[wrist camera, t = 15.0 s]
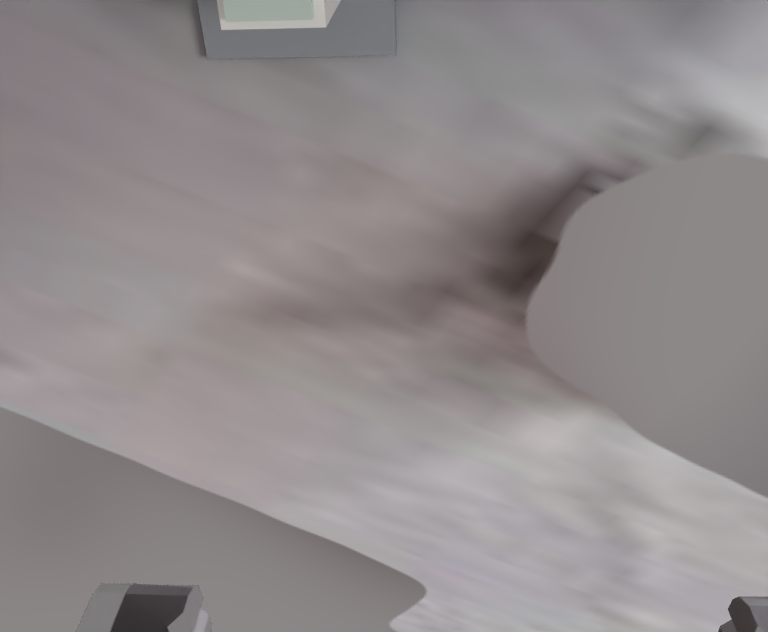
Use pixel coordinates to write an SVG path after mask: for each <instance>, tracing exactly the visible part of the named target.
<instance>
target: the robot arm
mask: <svg viewBox="0 0 768 632" xmlns="http://www.w3.org/2000/svg"><path fill="white" fill-rule="evenodd" d="M202 602H203V595H202V592H201V590H200V587H199V585H158V584H136V583H101V584H100V585H99V587H98V588H97V589H96V590H95V592H94V593H93V594H92V596H91V598H90V601H89V603H88V605H87V608H86V610H85V612H84V614H83V616H82V619H81V621H80V623H79V625H78V628H77V630H76V632H212V623H211V620H210V616H209V614H208V613H207V612H205V611H203V610H202V609H201V605H202ZM728 611H729V614H730V616H731V619H732V620H730V621H728V622H727V623H725V624H723V625H721V626H720V628H719V631H718V632H768V597H737V598H735V599H733V600H732V602H731V604H730V606H729V608H728Z"/></svg>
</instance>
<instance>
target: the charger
mask: <svg viewBox="0 0 768 632" xmlns="http://www.w3.org/2000/svg"><path fill="white" fill-rule="evenodd" d="M340 1H341V0H217V6H218V12H219V18H220V25H221V30H242V29H284V28H326V27H327V25H328V23H329V21H330V19H331V18H332V16H333V14H334V12H335V10H336V8H337V7H338V5H339V3H340Z"/></svg>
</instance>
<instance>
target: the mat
mask: <svg viewBox="0 0 768 632" xmlns="http://www.w3.org/2000/svg"><path fill="white" fill-rule="evenodd" d="M197 3H198V9H199V15H200V20H201V26H202V32H203V38H204V43H205V49H206V55H207V59H253V58H300V57H347V56H394V55H396V26H395V0H341V1H340V3H339V5H338V7H337V8H336V10H335V12H334V14H333V16H332V18H331V19H330V21H329V23H328V25H327V27H326V28H284V29H242V30H221V25H220V18H219V12H218V6H217V0H197Z"/></svg>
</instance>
